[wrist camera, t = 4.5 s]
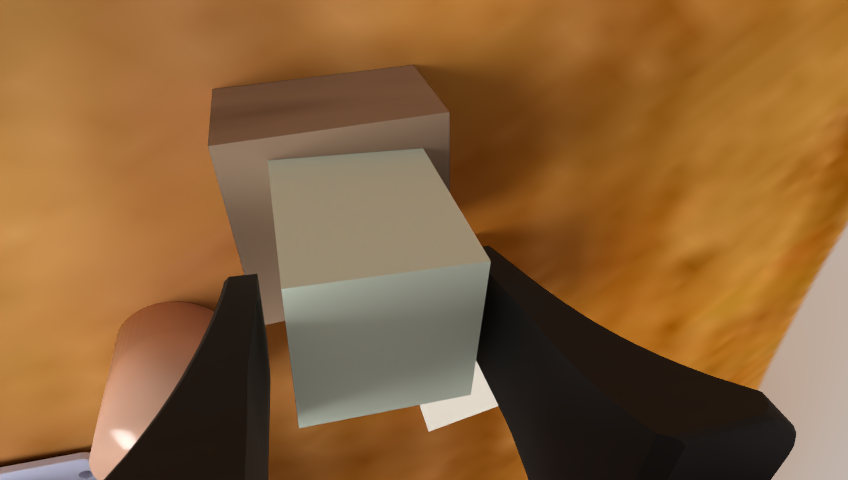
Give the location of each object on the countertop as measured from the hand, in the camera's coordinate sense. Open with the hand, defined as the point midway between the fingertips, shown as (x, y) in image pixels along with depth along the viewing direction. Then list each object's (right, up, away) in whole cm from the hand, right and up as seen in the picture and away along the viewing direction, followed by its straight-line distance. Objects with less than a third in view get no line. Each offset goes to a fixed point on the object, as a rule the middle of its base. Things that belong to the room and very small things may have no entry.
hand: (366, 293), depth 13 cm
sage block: (-1, +2, +2) cm, 3 cm away
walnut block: (-2, +4, +5) cm, 7 cm away
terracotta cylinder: (-8, -3, +8) cm, 11 cm away
